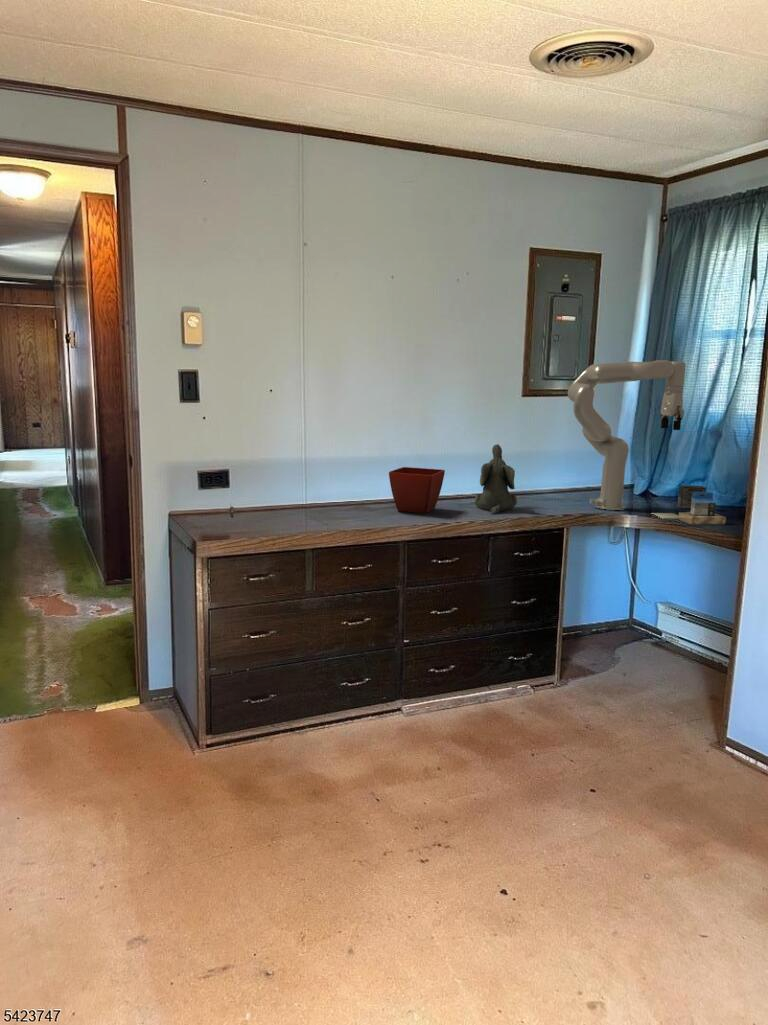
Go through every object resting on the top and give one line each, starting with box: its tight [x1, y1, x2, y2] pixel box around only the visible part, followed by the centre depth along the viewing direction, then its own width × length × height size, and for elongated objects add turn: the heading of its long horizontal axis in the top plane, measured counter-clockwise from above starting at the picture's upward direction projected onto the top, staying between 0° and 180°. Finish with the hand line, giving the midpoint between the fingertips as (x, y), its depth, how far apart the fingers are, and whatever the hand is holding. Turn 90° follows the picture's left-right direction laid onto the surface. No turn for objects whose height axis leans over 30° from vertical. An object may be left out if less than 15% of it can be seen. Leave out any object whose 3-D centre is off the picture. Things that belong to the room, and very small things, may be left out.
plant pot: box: [388, 466, 446, 514], centre depth 320 cm, size 19×19×17 cm
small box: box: [676, 484, 707, 510], centre depth 346 cm, size 11×6×10 cm, turn 84°
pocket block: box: [677, 511, 727, 525], centre depth 315 cm, size 15×10×3 cm, turn 99°
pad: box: [650, 512, 679, 520], centre depth 325 cm, size 10×10×1 cm
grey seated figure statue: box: [474, 443, 518, 514], centre depth 329 cm, size 19×21×27 cm
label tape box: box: [690, 491, 717, 516], centre depth 315 cm, size 9×4×12 cm, turn 90°
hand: (670, 429), depth 336 cm, fingers open, 9 cm apart
